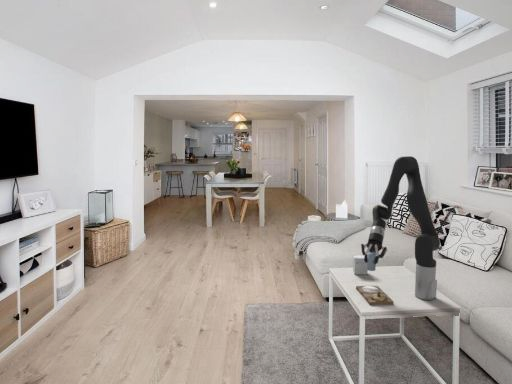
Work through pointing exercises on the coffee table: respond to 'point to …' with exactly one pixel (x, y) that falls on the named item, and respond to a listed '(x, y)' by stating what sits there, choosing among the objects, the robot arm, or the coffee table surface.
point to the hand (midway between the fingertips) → (370, 262)
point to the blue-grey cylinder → (371, 261)
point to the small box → (359, 265)
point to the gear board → (374, 295)
